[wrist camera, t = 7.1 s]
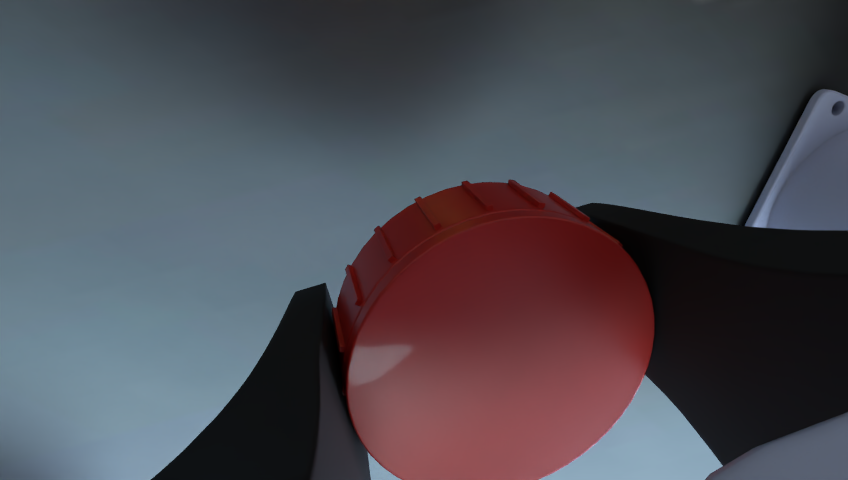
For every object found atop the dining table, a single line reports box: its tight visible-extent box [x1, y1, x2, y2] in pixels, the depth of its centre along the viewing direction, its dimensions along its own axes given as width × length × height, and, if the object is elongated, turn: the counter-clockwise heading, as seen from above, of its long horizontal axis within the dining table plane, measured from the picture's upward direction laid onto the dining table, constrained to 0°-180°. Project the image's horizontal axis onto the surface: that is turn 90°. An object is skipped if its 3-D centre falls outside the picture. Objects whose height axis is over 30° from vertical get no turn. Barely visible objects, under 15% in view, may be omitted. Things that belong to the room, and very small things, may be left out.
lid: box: [331, 180, 654, 480], centre depth 10 cm, size 5×5×2 cm
